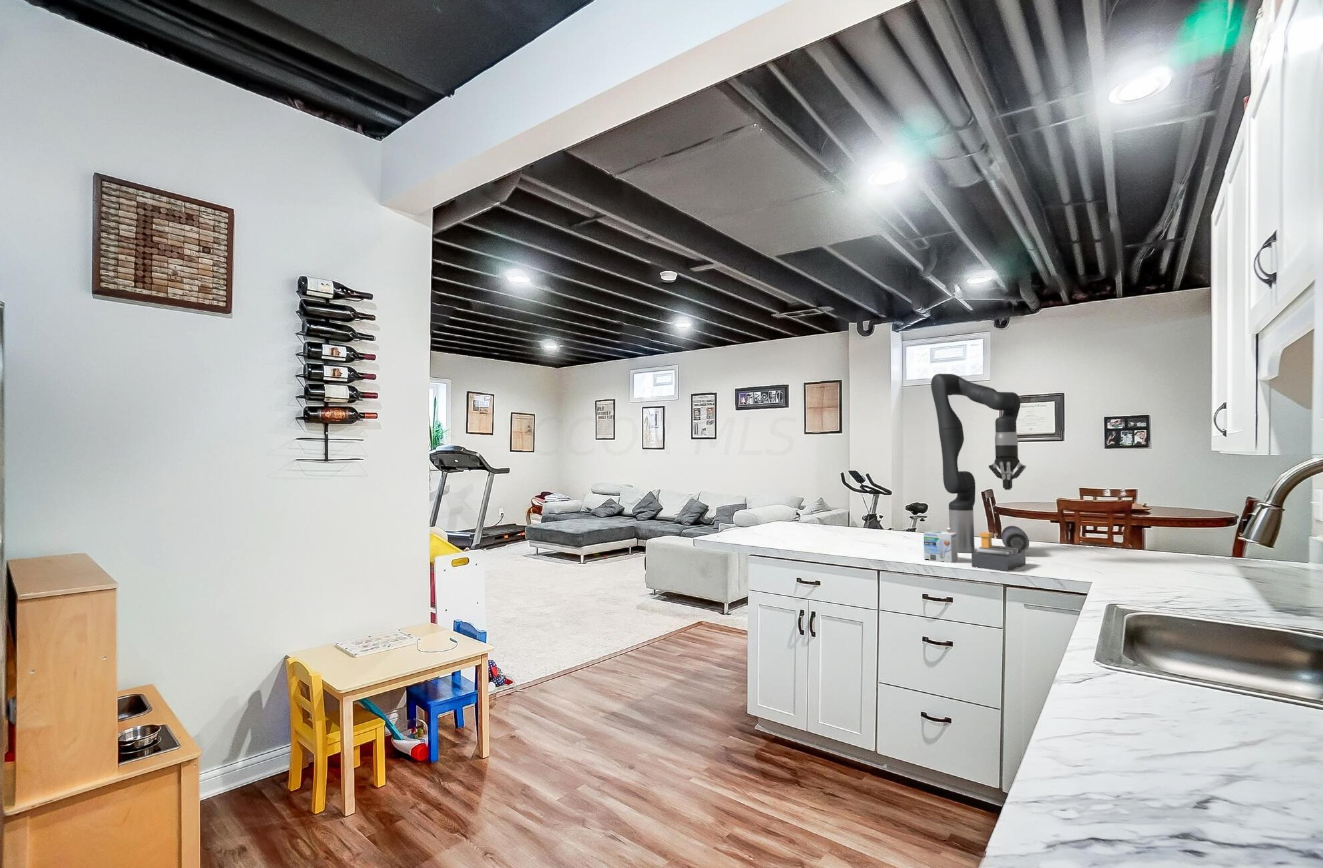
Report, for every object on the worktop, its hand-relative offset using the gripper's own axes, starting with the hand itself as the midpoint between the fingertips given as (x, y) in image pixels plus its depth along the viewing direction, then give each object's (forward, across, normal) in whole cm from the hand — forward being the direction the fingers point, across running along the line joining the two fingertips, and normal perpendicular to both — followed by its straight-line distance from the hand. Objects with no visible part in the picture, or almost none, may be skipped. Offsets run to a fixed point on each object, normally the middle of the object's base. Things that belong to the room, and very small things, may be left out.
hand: (1007, 489), depth 232 cm
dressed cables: (+22, +1, -13) cm, 26 cm away
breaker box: (+27, +1, -14) cm, 30 cm away
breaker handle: (+22, -3, -14) cm, 26 cm away
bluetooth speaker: (+27, -6, +22) cm, 35 cm away
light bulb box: (+27, -19, -16) cm, 37 cm away
